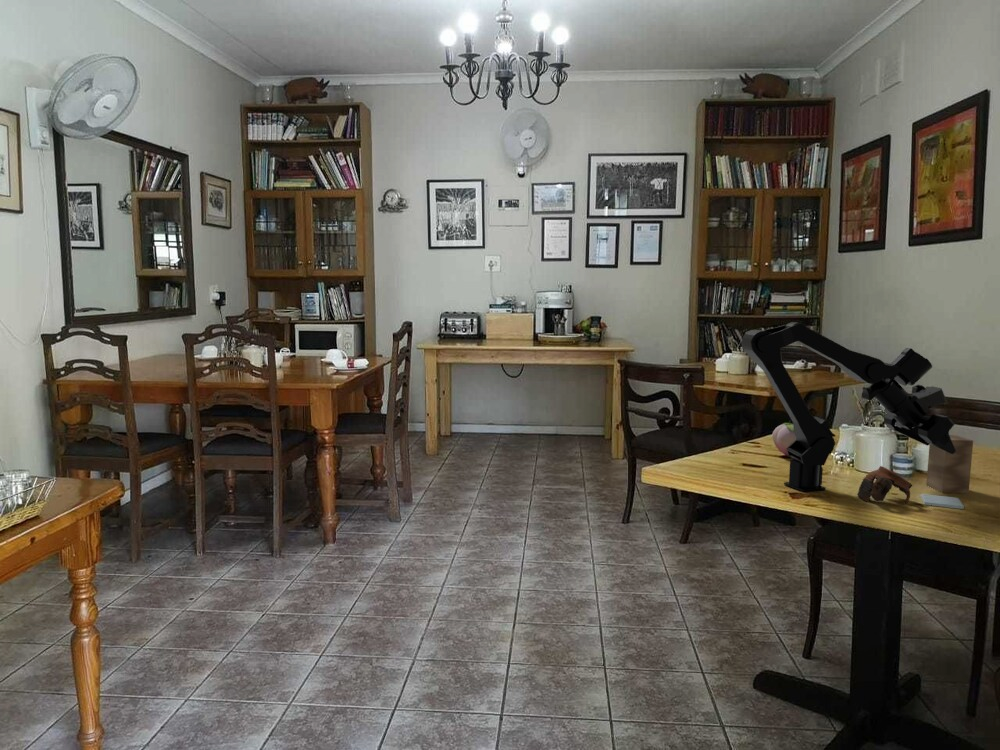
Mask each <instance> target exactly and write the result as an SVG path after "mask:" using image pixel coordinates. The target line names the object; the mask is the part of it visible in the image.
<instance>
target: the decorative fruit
mask: <svg viewBox="0 0 1000 750" xmlns="http://www.w3.org/2000/svg"><path fill="white" fill-rule="evenodd" d="M791 421H792V420H791V419H790V420H789V422H783V423H782V424H780V425H777V427H775V429H774V430H773V431H772V434H771V435H772V441H773V443H774V446H775V448H777V450H778V451H779V452H780V453H782V454H783V455H784V456H786V457H789V456H788V453H787V447H788V446H790V445H791V444H792V443H793V442H794V441H795V440H796V436H795V433H794V427H793V423H791Z"/></svg>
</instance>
